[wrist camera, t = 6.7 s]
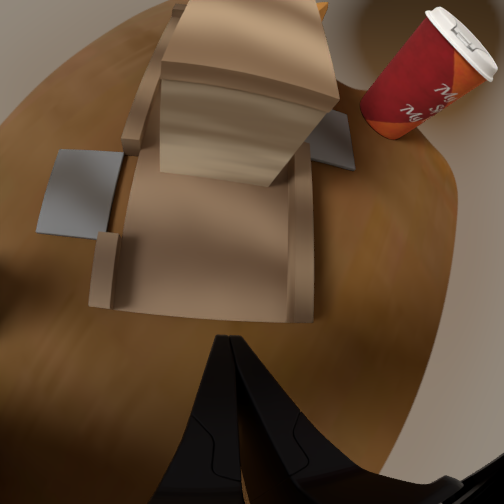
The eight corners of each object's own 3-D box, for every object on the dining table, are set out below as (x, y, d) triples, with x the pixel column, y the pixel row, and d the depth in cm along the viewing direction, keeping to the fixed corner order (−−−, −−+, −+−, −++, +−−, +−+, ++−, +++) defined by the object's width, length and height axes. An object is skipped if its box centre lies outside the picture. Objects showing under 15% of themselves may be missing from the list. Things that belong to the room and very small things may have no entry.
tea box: (268, 188, 19) (340, 99, 10) (158, 172, 17) (161, 60, 8) (270, 62, 22) (310, -15, 13) (192, 47, 20) (211, -39, 12)
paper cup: (391, 161, 24) (501, 80, 11) (337, 100, 24) (424, -1, 11) (417, 133, 27) (502, 67, 14) (371, 82, 27) (444, 5, 14)
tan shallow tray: (361, 322, 19) (388, 321, 17) (28, 295, 14) (5, 290, 11) (334, 63, 26) (347, 45, 23) (125, 24, 20) (125, 2, 17)
